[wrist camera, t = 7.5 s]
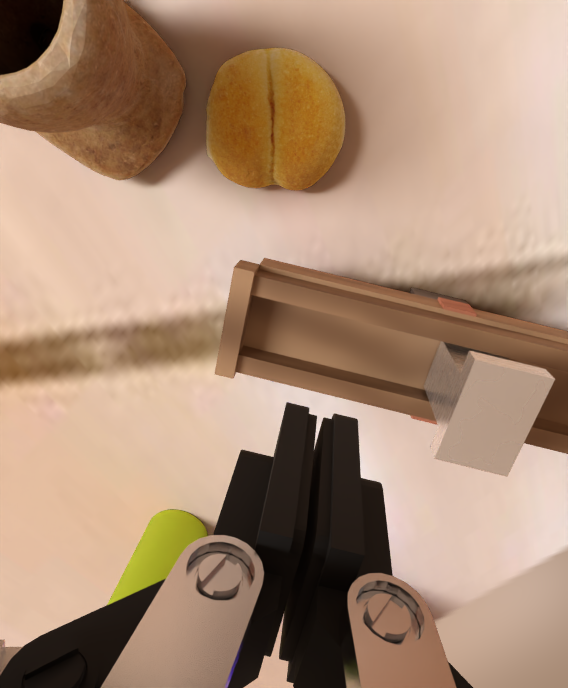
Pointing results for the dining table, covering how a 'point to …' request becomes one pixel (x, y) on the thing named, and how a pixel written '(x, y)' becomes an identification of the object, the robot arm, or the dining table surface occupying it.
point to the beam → (374, 341)
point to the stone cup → (89, 81)
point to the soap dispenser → (158, 550)
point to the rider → (483, 406)
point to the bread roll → (274, 119)
